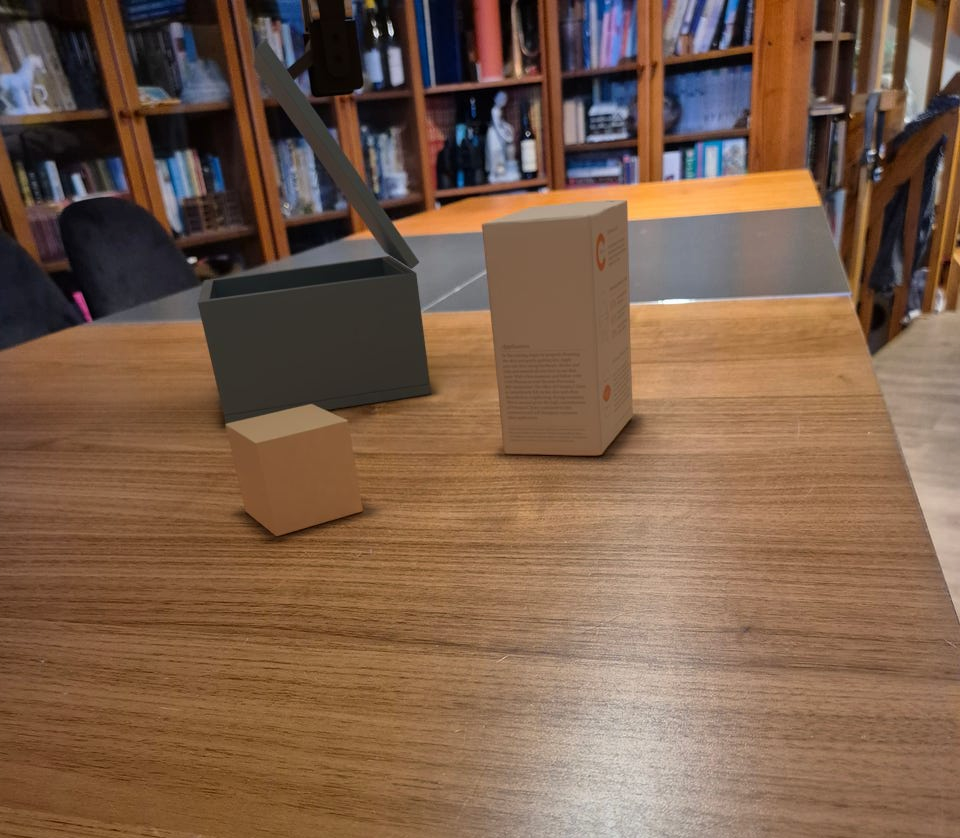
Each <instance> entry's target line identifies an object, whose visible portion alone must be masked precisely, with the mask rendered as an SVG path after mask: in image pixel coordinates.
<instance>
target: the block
mask: <svg viewBox="0 0 960 838" xmlns="http://www.w3.org/2000/svg"><path fill="white" fill-rule="evenodd" d="M225 429H226V433H227V438H228V442H229V446H230V451H231V454H232V455H231V456H232V460H233V463H234V468H235V474H236V476H237V477H236V478H237V481H238V485H239V490H240V494H241V497H242V502H243V506H244V511H245V512H246V513H247V514H248V515H249V516H251V518H253V520H255V521H257V522H258V523H259V524H260V525H261V526H263V527H264V528H265V529H266V530H268V531H269V532H270V533H271V534H272V535H274V536H275V537H279V536H282V535H287V534H290V533H293V532H296V531H299V530H304V529H306V528H310V527H314V526H317V525H321V524H324V523H327V522H330V521H334V520H338V519H341V518H344V517H347V516H351V515H354V514H358V513H361V512H364V509H363V502H362V497H361V491H360V485H359V478H358V473H357V466H356V460H355V455H354V449H353V443H352V437H351V432H350V431H351V430H350V425H349V420H348V419H346V418H343V417H341V416H340V415H337V414H334V413H333V412H330V411H329V410H324V409H322V408H320V407H317V406H315V405H313V404H309V405H304V406H300V407H296V408H292V409H287V410H283V411H279V412H274V413H270V414H266V415H262V416H257V417H253V418H249V419H244V420H240V421H236V422H232V423H227V424H226V423H225Z"/></svg>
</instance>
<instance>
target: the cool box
mask: <svg viewBox="0 0 960 838" xmlns="http://www.w3.org/2000/svg"><path fill="white" fill-rule="evenodd" d="M420 299H421V298H420V291H419V283H418V275H417V272H415V271H414V270H412V269H410V268H409V267H407V266H406V265H404V264H402V263H401V262H399V261H398V260H396V259H395V258H393V257H391V256H390V255H386V256H385V255H384V256H379V257H370V258H363V259H355V260H348V261H340V262H333V263H324V264H316V265H309V266H302V267H295V268H287V269H279V270H272V271H265V272H257V273H248V274H241V275H234V276H227V277H226V276H225V277H217V278H211V279H204V280H203V282H202V286H201V289H200V292H199V297H198V300H197V306H198V307H197V308H198V310H199V316H200V320H201V323H202V328H203V331H204V337H205V341H206V345H207V349H208V354H209V358H210V363H211V366H212V371H213V375H214V379H215V384H216V388H217V392H218V393H217V394H218V397H219V401H220V405H221V409H222V414H223V418H224V423H225V425H226V424H227V423H232V422H236V421H240V420H244V419H249V418H253V417H257V416H262V415H266V414H270V413H274V412H279V411H283V410H287V409H292V408H296V407H300V406H304V405H309V404H313V405H315V406H317V407H320V408H322V409H324V410H326V411H331V410H338V409H343V408H350V407H357V406H363V405H370V404H376V403H382V402H388V401H389V402H390V401H395V400H401V399H407V398H409V399H410V398H415V397H420V396H428V395H431V394H432V389H431V382H430V380H431V379H430V374H429V373H430V372H429V365H428V357H427V348H426V341H425V340H426V339H425V332H424V325H423V324H424V323H423V315H422V309H421V307H422V306H421V300H420Z"/></svg>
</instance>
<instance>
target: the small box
mask: <svg viewBox="0 0 960 838" xmlns="http://www.w3.org/2000/svg"><path fill="white" fill-rule="evenodd" d="M628 212H629V209H628V200H626V199H608V200H607V199H605V200H592V201H591V200H590V201H577V202H576V201H575V202H567V203H556V204H549V205H547V204H546V205H539V206H538V205H537V206H530V207H526V208H524V209H521V210H518V211H515V212H512V213H509V214H507V215H504V216H501V217H498V218H495V219H492V220H489V221H486V222H483V223H481V230H482V239H483V248H484V260H485V272H486V282H487V291H488V301H489V311H490V322H491V332H492V342H493V353H494V365H495V374H496V383H497V393H498V404H499V416H500V424H501V435H502V436H501V437H502V449H503V452H504V453H505V454H506V455H549V456H551V455H552V456H600V455H603V453H604V452H605V451H606V449H607V448H608V447H609V446H610V445H611V443H612V442H613V441H614V440H615V438H616V437H617V436H618V435H619V434H620V433H621V431H622V430H623V428H625V426H626V425H627V424H628V422H629V421H630V420H631V419H632V418H633V416H634V411H633V407H634V406H633V376H632V374H633V373H632V349H631V296H630V295H631V293H630V291H631V290H630V259H629V258H630V257H629V255H630V254H629V253H630V252H629V251H630V250H629V217H628V216H629V215H628V214H629V213H628Z"/></svg>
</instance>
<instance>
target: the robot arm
mask: <svg viewBox="0 0 960 838" xmlns="http://www.w3.org/2000/svg"><path fill="white" fill-rule="evenodd" d="M299 2H300V9H301V17H302V25H303V31H304V33H302V41H303V42H302V43H303V49H305V48H306V45H307V43H308V42H309V40H310V44H311V50H312V57H313V64H314V66H313V65H312V66H310V67H309V68H308V69H307V74H308V81H309V87H310V93H311V95H312V96H313V98H316V99H317V98H328V97H339V96H351V95H352V94H353V93H354V92H355V91H357V90H361V89H362V88H363V87H364V74H363V68H362V59H361V51H360V42H359V35H358V28H357V27H358V26H357V20H356V19H354V12H353V11H354V10H353V3H352V0H299Z"/></svg>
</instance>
